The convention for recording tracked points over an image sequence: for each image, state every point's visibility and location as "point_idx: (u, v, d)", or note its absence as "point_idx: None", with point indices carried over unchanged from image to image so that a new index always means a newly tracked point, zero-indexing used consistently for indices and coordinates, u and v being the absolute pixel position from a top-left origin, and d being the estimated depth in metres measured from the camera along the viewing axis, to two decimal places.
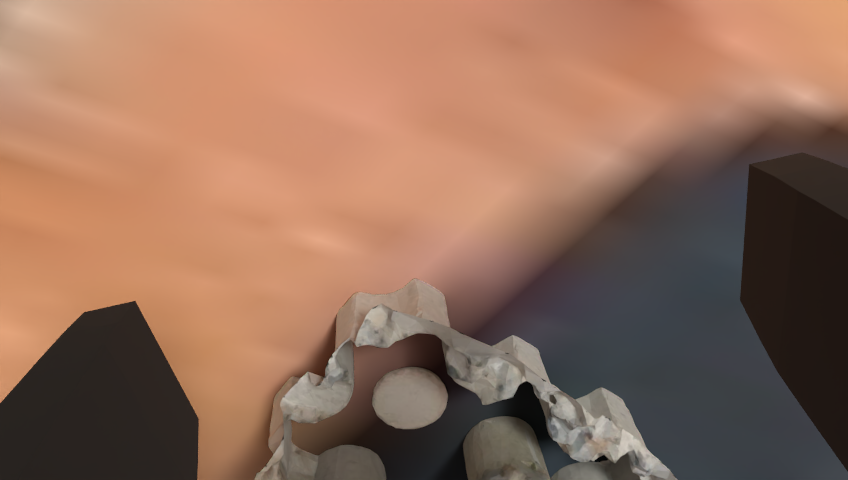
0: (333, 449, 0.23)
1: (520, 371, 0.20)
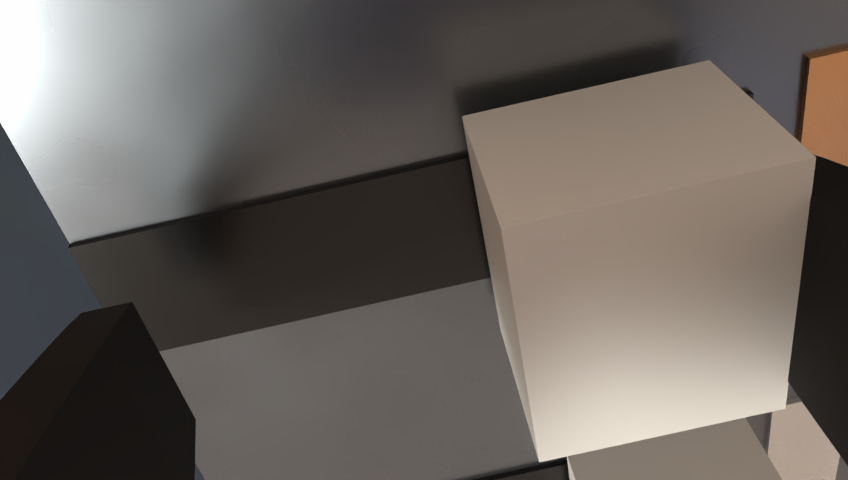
0: None
1: None
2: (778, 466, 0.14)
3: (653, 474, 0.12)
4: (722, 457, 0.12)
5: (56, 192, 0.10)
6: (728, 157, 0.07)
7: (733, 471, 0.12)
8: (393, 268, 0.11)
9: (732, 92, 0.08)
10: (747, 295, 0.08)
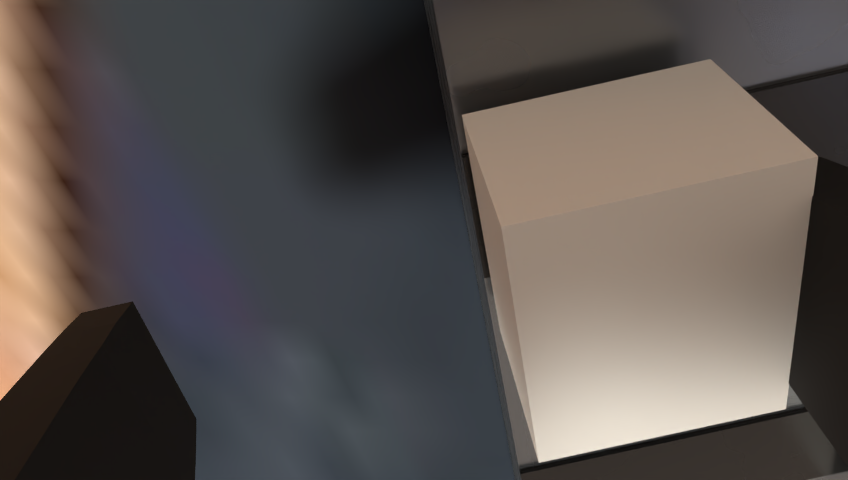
0: None
1: None
2: None
3: None
4: None
5: (465, 97, 0.09)
6: (730, 156, 0.07)
7: None
8: None
9: (734, 91, 0.08)
10: (749, 295, 0.08)
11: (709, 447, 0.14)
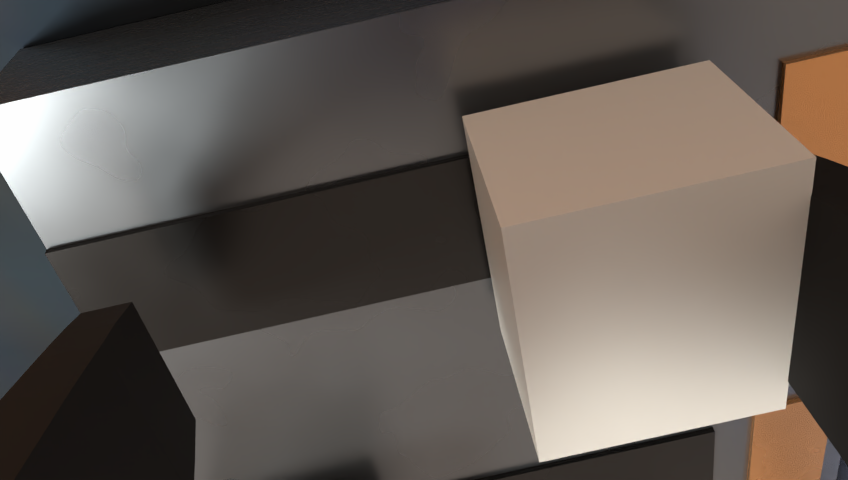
0: None
1: None
2: None
3: None
4: None
5: None
6: None
7: None
8: None
9: None
10: None
11: None
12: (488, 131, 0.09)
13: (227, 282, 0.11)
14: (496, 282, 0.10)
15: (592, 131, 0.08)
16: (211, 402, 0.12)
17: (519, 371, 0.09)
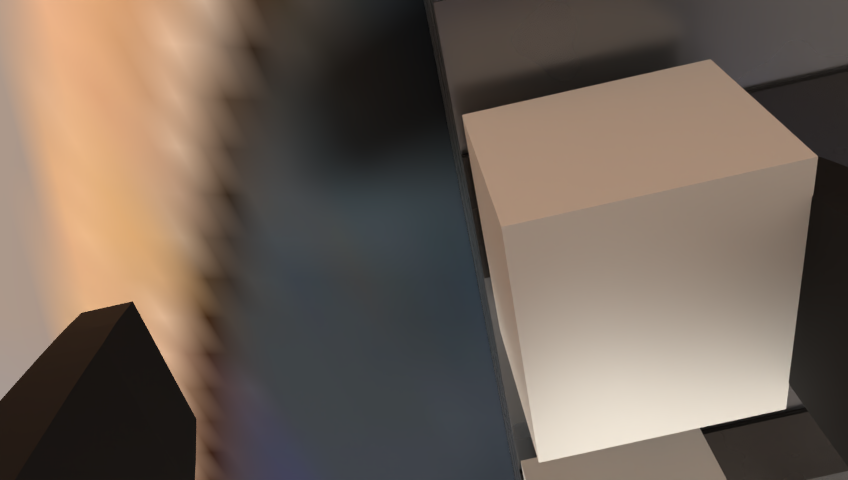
0: None
1: None
2: None
3: None
4: None
5: (524, 439, 0.13)
6: None
7: None
8: (738, 477, 0.14)
9: (712, 466, 0.12)
10: None
11: None
12: (488, 130, 0.09)
13: None
14: (496, 282, 0.10)
15: (592, 130, 0.08)
16: None
17: (519, 371, 0.09)
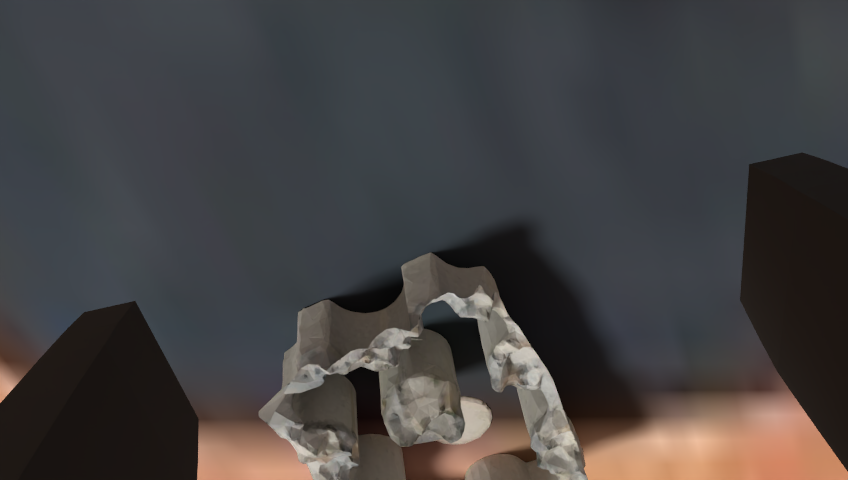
0: None
1: None
2: None
3: None
4: None
5: None
6: None
7: None
8: None
9: None
10: None
11: None
12: None
13: None
14: None
15: None
16: None
17: None
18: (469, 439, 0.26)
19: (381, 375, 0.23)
